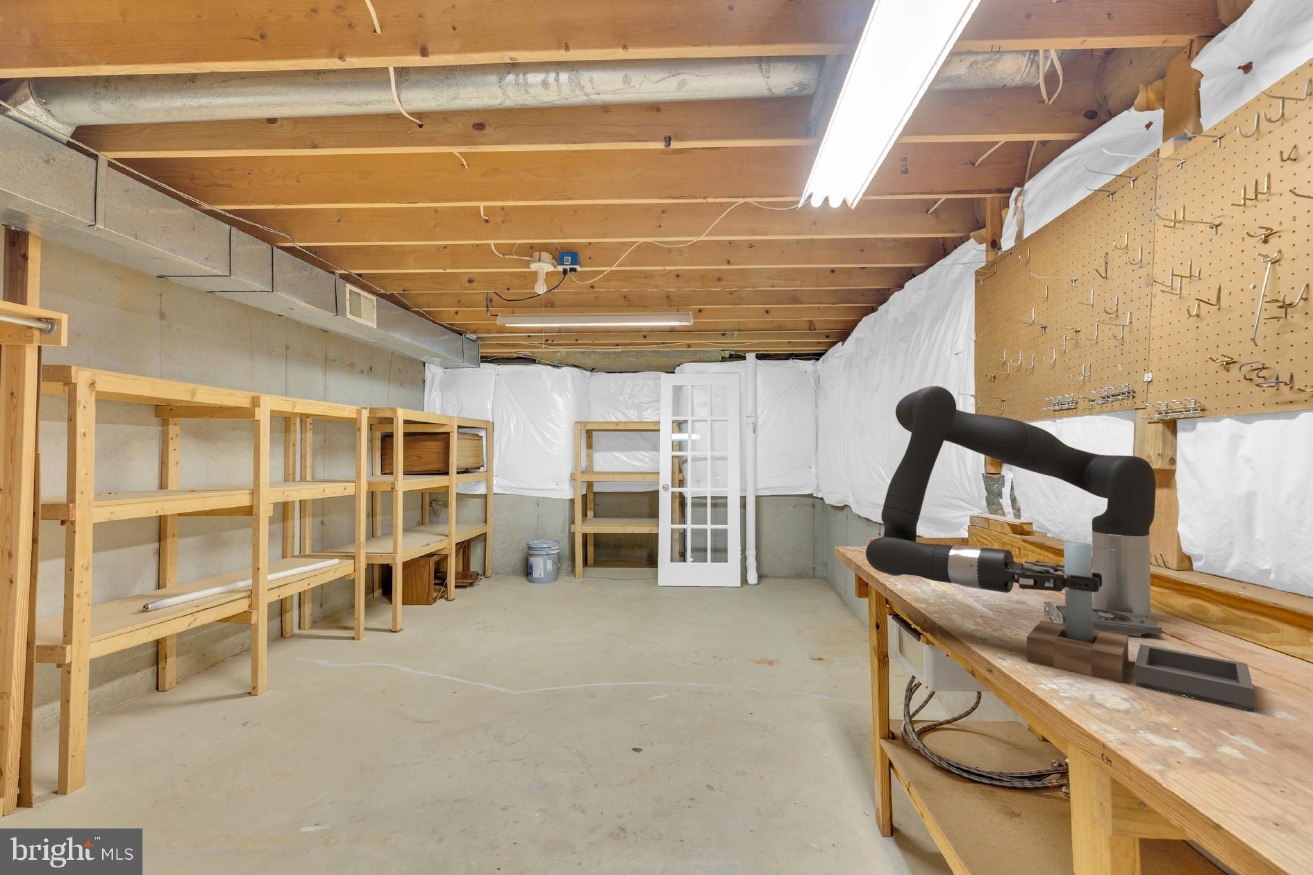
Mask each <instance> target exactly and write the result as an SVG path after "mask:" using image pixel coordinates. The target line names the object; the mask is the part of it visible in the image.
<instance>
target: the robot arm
mask: <svg viewBox="0 0 1313 875" xmlns="http://www.w3.org/2000/svg"><path fill="white" fill-rule="evenodd" d="M895 417H896V420H897V422H898V423H899V424H900V426H902V427H903V429H905V430H906V431H908V432H910V433H911V434H910V438H909V442H908V445H907V448H906V450H905V452H904V455H903V457H902V459H901V461H900V463H899V465H898V466H897V467H896V468H897V469H896V470H895V472H894V474H893V475H892V478H891V479H890V482H889V485H888V487H887V490H886V494H885V499H884V502H883V507H882V510H881V514H880V515H881V517H880V518H881V521H882V523H883V525H884V530H883V536H880V537H877V538H874V539H873V540H871V542H869V543H868V545H867V547H866V549H865V557H866V560H867V563H868V564H869V565H870V566H871V567H872V568H873V569H874V570H876V571H877V572H880V573H883V574H886V575H889V576H892V577H898V576H903V575H906V576H914V577H920V578H923V579H926V580H929V581H933V582H941V583H946V584H947V583H948V584H954V585H958V586H961V587H966V588H971V589H979V590H984V591H991V592H999V593H1004V594H1005V593H1006V594H1007V593H1008V594H1009V593H1010V592H1011V591H1012V590H1013V587H1014V584H1018V588H1019V589H1022V590H1035V591H1046V592H1047V591H1050V592H1056V593H1057V592H1058V593H1060V592H1063V591H1065V590H1069V587H1070V589H1074V590H1082V591H1089V592H1092V597H1093V609H1100V610H1109V611H1118V612H1127V613H1136V614H1144V615H1148V619H1150V620H1152V615H1151V614H1152V612H1151V608H1152V607H1151V601H1152V600H1151V599H1152V598H1151V595H1152V594H1151V548H1150V547H1151V546H1150V544H1151V543H1150V540H1151V538H1150V529H1151V525H1152V523H1154V519H1155V511H1156V510H1155V508H1156V494H1157V492H1156V491H1157V490H1156V489H1157V485H1156V484H1157V482H1156V481H1157V480H1156V479H1157V478H1156V475H1155V472H1154V469H1153V467H1152V465H1151V464H1150V462H1149V461H1147V460H1146V459H1144V458H1142V457H1140V456H1135V455H1119V454H1118V455H1111V454H1108V455H1107V454H1100V453H1099V454H1097V453H1094V452H1090V451H1084V450H1081V449H1078V448H1076V447H1072V446H1069V445H1067V444H1065V443H1064V442H1063V441H1061V440H1060V439H1059V438H1058V437H1057V436H1055V434H1053V433H1050V431H1048V430H1045V429H1043V428H1041V427H1039V426H1036V425H1032V424H1030V423H1028V422H1024V421H1022V420H1018V419H1014V418H1009V417H1005V416H997V415H989V414H979V413H973V412H972V413H971V412H967V411H962V410H960V409H957V402H956V399H955V397H954V395H953V394H952V392H950V391H949V390H948V389H947V388H945V387H942V386H939V385H931V386H926V387H923V388H920V389H918V390H915V391H913V392H910V393H908V394H906V395H905V396H903V397H902V398H901V399H900V400H899V401H898V403H897V405H896V406H895ZM944 442H949V443H951V444H954V445H957V446H960V447H963V448H965V449H967V450H970V451H973V452H976V453H978V454H980V455H984V456H987V457H988V458H991V459H994V460H997V461H999V462H1002V463H1005V464H1008V465H1010V466H1014V467H1015V468H1019V469H1023V470H1026V471H1030V472H1033V473H1036V474H1039V475H1044V476H1048V477H1052V478H1055V479H1059V480H1061V481H1064V482H1066V483H1068V484H1070V485H1072V486H1074V487H1076V488H1079V489H1081V490H1083V491H1085V492H1087V493H1089V494H1092V495H1094V496H1096V497H1099V498H1103V499H1107V503H1106V504H1107V506H1106V510H1105V511H1104V512H1103V513H1101V514H1099V515H1096V516H1094V517H1093V518H1092V520H1091V542H1092V543H1091V555H1092V577H1086V576H1077V575H1070V577H1069V574H1066V573H1065V567H1064V564H1057V563H1052V562H1045V561H1042V560H1041V561H1040V560H1024V562H1016V561H1015V560H1014V555H1013V553H1012V551H1011V550H1009V549H1005V548H1004V549H1003V548H996V547H995V548H994V547H986V546H985V547H984V546H983V547H982V546H973V545H950V544H949V545H948V544H941V543H924V542H918V541H917V533H918V532H917V528H918V527H917V526H918V522H919V520H920V515H921V511H922V508H923V504H924V499H925V495H926V491H927V489H928V485H929V481H930V478H931V475H932V473H933V470H934V467H935V463H936V461H937V459H938V457H939V454H940V451H941V449H942V446H943V445H944Z"/></svg>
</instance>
